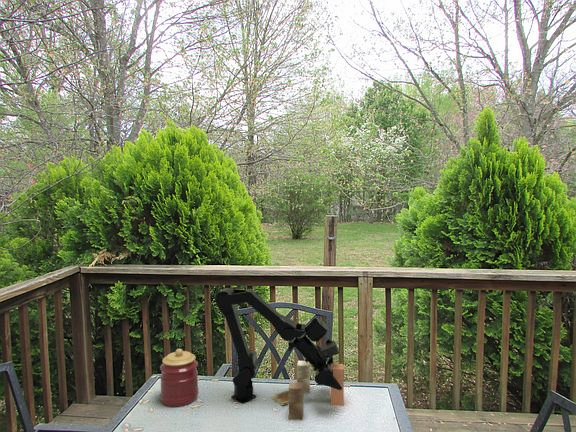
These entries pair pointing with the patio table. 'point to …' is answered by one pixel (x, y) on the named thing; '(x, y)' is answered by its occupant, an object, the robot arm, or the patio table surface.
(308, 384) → the birch block
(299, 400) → the walnut block
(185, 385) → the canister
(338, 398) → the salmon orange block
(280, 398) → the shard
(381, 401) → the patio table surface
